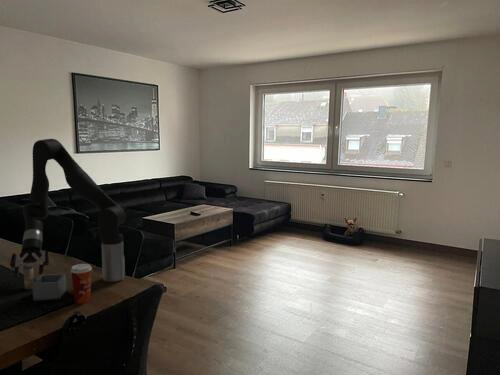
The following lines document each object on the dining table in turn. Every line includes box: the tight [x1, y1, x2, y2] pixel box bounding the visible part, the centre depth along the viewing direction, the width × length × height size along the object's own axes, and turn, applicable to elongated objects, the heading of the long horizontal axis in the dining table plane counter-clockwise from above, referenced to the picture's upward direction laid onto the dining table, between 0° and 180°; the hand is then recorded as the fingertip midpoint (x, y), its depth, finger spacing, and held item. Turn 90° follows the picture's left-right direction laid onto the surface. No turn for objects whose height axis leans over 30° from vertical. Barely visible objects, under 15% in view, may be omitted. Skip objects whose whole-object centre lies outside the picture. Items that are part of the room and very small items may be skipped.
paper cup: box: [70, 263, 93, 304], centre depth 144 cm, size 8×8×14 cm
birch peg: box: [22, 263, 35, 290], centre depth 155 cm, size 4×4×10 cm
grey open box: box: [32, 273, 67, 302], centre depth 149 cm, size 9×9×7 cm
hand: (28, 275), depth 155 cm, fingers open, 8 cm apart
